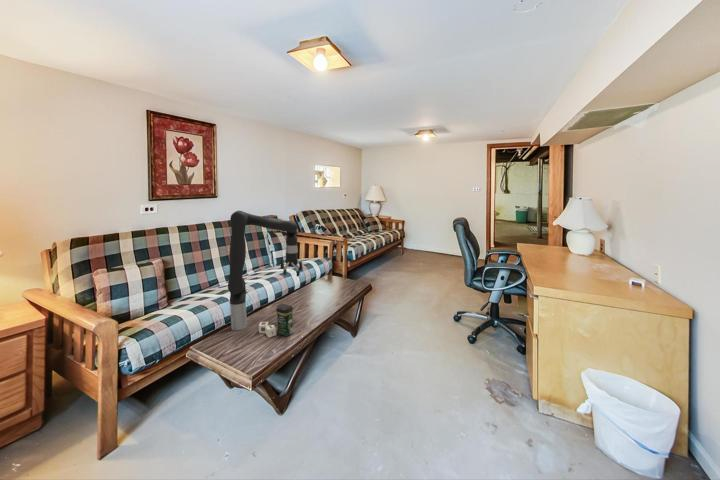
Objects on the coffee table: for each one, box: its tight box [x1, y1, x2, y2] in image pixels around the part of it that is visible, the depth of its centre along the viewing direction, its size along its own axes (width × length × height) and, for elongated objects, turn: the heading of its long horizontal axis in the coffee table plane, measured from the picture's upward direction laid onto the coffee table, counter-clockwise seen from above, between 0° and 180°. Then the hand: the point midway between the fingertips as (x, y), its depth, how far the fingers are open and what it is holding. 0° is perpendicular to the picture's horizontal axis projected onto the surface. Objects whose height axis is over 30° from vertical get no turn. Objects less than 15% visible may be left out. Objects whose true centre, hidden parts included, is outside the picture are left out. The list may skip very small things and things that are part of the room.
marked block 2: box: [265, 324, 277, 338], centre depth 178 cm, size 5×6×5 cm
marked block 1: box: [258, 321, 270, 334], centre depth 183 cm, size 5×5×5 cm
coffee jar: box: [276, 303, 294, 337], centre depth 179 cm, size 10×8×19 cm
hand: (291, 275), depth 191 cm, fingers open, 8 cm apart
